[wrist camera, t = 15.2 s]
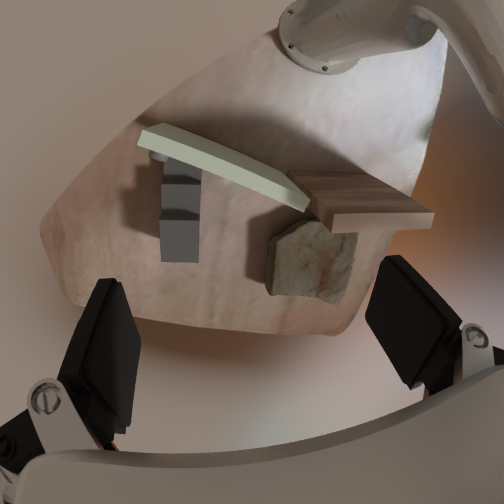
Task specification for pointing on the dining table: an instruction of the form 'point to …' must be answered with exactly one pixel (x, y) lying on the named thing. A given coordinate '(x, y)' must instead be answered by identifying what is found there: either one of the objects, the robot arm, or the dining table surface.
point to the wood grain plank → (359, 203)
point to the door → (221, 163)
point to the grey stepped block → (180, 212)
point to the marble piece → (310, 262)
